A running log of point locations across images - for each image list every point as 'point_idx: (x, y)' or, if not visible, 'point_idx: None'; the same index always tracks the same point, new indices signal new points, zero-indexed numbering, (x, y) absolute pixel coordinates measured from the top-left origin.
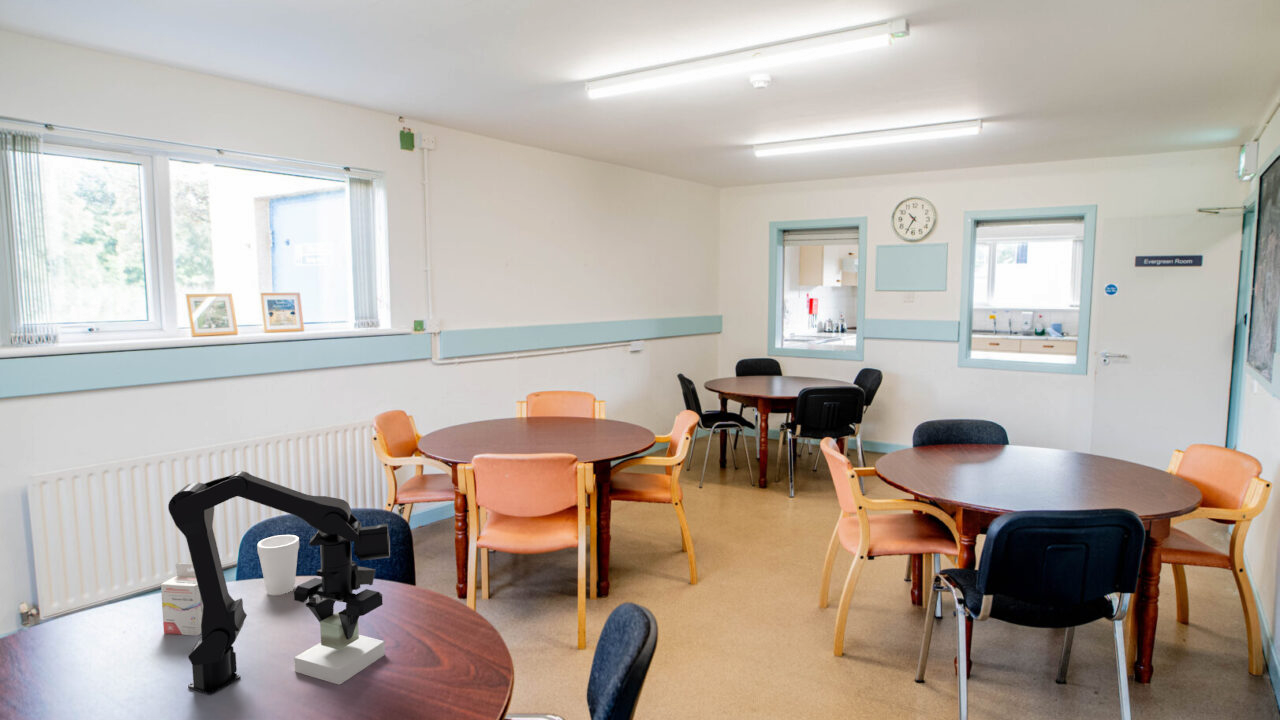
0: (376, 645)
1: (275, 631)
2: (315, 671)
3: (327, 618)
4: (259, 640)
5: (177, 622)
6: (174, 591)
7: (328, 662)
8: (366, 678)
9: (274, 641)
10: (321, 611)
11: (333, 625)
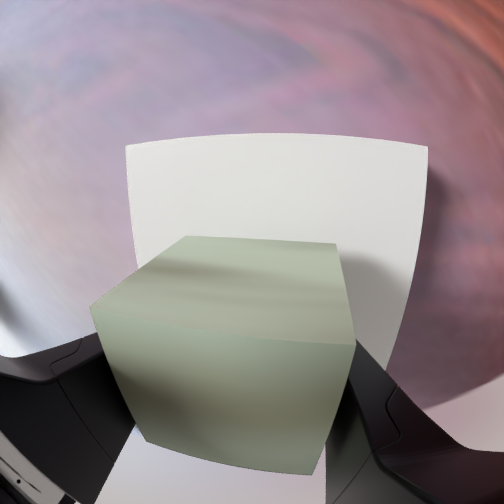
0: (420, 200)
1: (6, 198)
2: None
3: (141, 417)
4: (15, 241)
5: None
6: None
7: None
8: (432, 307)
9: (29, 232)
10: (97, 458)
11: (264, 468)
